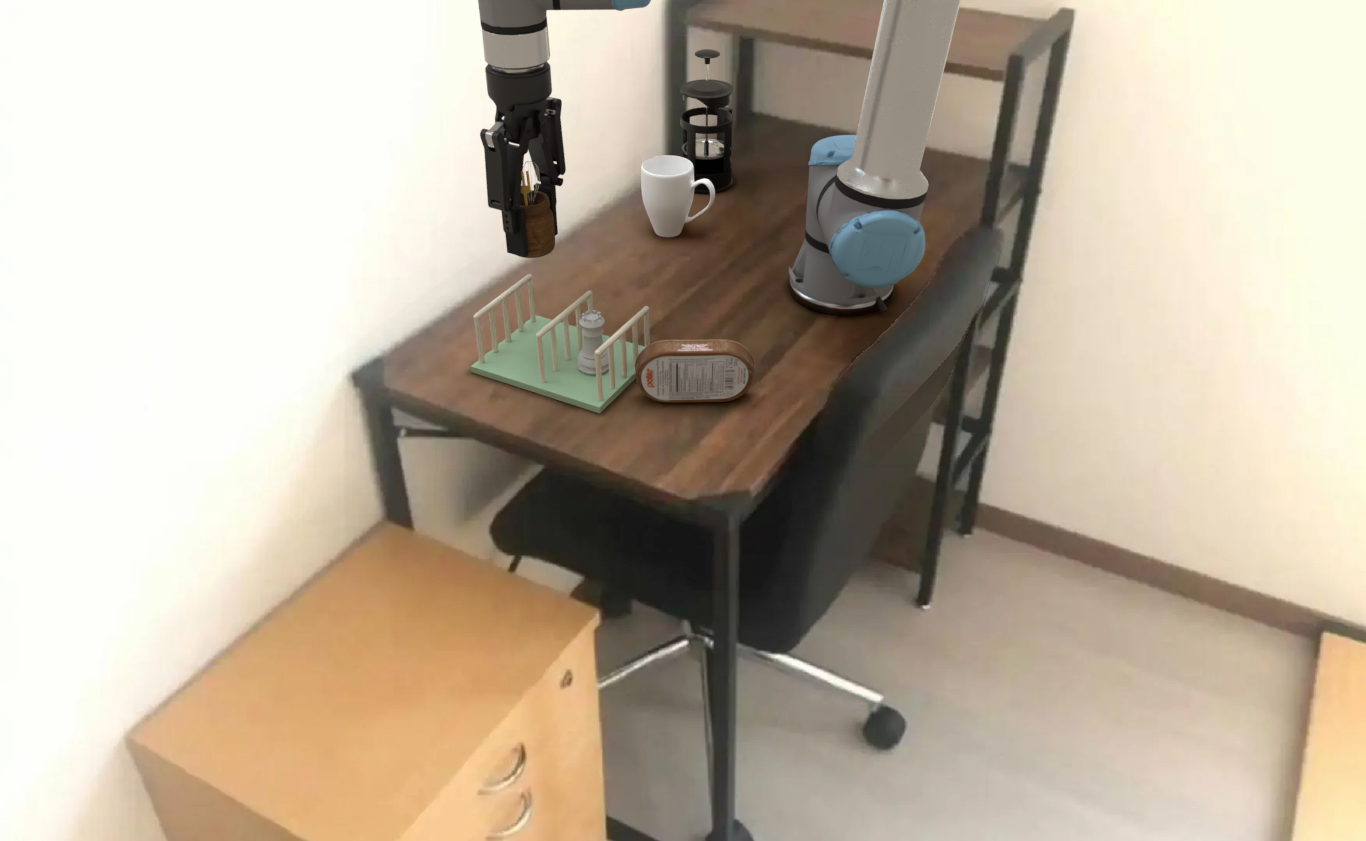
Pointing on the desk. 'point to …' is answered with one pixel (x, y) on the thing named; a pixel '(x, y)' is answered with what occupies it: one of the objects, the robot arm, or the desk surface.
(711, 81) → the french press
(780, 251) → the desk surface
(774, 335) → the desk surface
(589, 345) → the rook chess piece
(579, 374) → the drying rack
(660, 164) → the mug
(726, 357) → the tin
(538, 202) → the utensil holder
